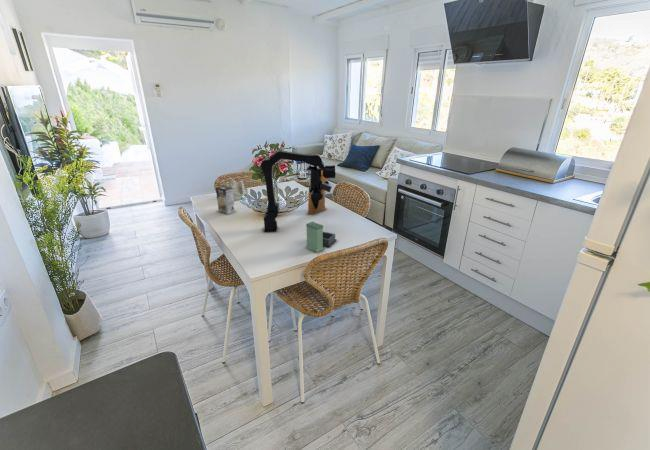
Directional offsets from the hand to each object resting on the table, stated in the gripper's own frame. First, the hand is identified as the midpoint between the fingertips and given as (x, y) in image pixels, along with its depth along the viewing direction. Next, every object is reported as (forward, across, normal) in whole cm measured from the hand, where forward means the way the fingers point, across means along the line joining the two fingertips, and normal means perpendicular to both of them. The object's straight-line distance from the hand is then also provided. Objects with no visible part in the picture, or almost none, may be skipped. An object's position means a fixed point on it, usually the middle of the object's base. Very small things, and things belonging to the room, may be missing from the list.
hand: (315, 205), depth 172 cm
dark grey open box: (+14, -16, -3) cm, 22 cm away
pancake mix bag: (+14, +28, -4) cm, 31 cm away
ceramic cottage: (+15, +63, +52) cm, 83 cm away
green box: (+14, -24, +2) cm, 28 cm away
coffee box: (+15, +32, +54) cm, 65 cm away
